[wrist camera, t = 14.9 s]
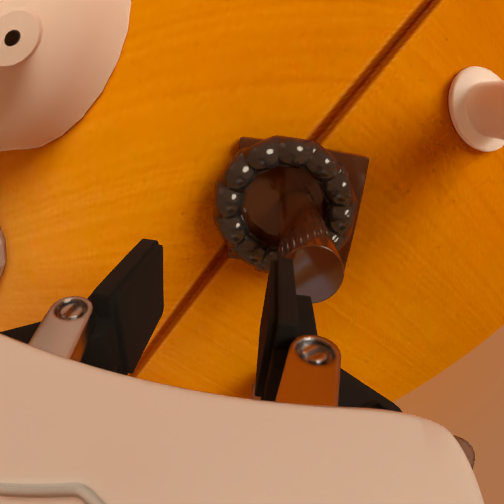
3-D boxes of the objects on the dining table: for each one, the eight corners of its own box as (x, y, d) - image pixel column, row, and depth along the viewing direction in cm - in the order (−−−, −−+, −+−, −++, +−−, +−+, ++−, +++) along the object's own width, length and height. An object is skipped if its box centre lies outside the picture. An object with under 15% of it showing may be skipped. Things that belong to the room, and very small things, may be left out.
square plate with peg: (366, 156, 21) (434, 191, 11) (341, 267, 25) (376, 361, 15) (242, 136, 22) (213, 152, 12) (229, 252, 25) (200, 343, 15)
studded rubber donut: (363, 149, 20) (371, 152, 18) (337, 275, 24) (341, 287, 22) (223, 128, 21) (218, 129, 19) (212, 257, 24) (206, 269, 23)
